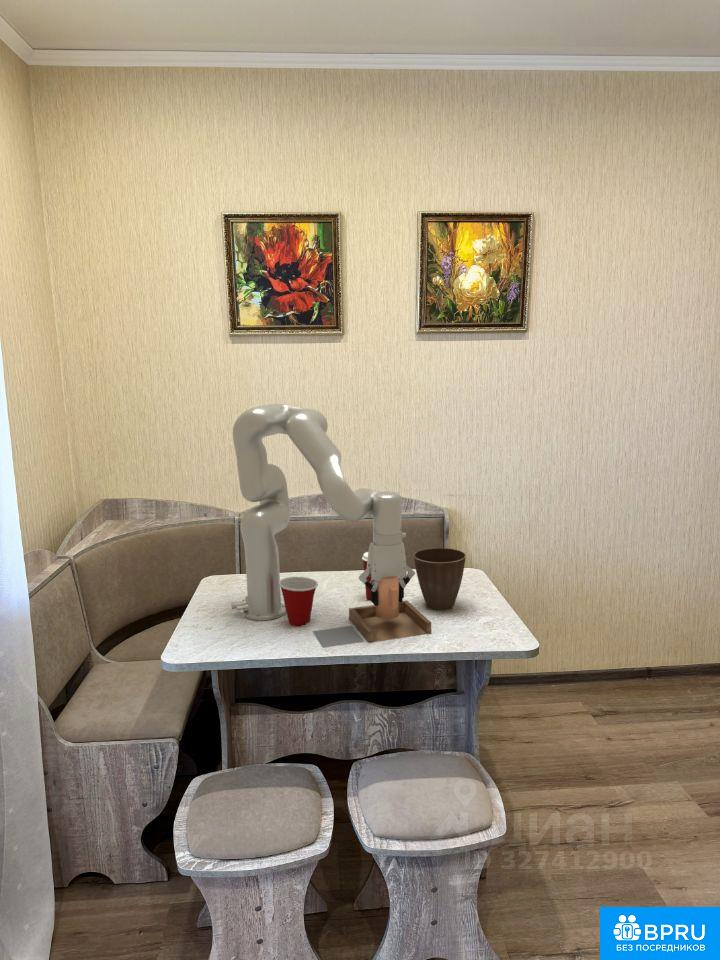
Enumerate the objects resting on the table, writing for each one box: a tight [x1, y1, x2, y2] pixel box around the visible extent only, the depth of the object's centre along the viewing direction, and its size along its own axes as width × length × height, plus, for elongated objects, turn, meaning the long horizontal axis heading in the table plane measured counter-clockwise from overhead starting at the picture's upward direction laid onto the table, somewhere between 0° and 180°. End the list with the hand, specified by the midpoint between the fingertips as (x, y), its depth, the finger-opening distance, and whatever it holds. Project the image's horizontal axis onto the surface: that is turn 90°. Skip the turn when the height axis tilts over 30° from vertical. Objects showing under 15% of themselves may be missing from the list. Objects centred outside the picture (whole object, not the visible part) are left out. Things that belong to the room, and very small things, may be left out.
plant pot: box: [413, 547, 467, 612], centre depth 198 cm, size 15×15×16 cm
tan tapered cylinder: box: [375, 577, 399, 619], centre depth 182 cm, size 9×6×11 cm
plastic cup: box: [279, 576, 319, 627], centre depth 189 cm, size 11×11×12 cm
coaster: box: [312, 625, 365, 649], centre depth 179 cm, size 11×11×1 cm
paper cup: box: [361, 551, 371, 602], centre depth 207 cm, size 8×8×14 cm
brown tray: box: [348, 600, 432, 644], centre depth 185 cm, size 17×17×4 cm
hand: (387, 601), depth 184 cm, fingers closed on tan tapered cylinder, 6 cm apart
